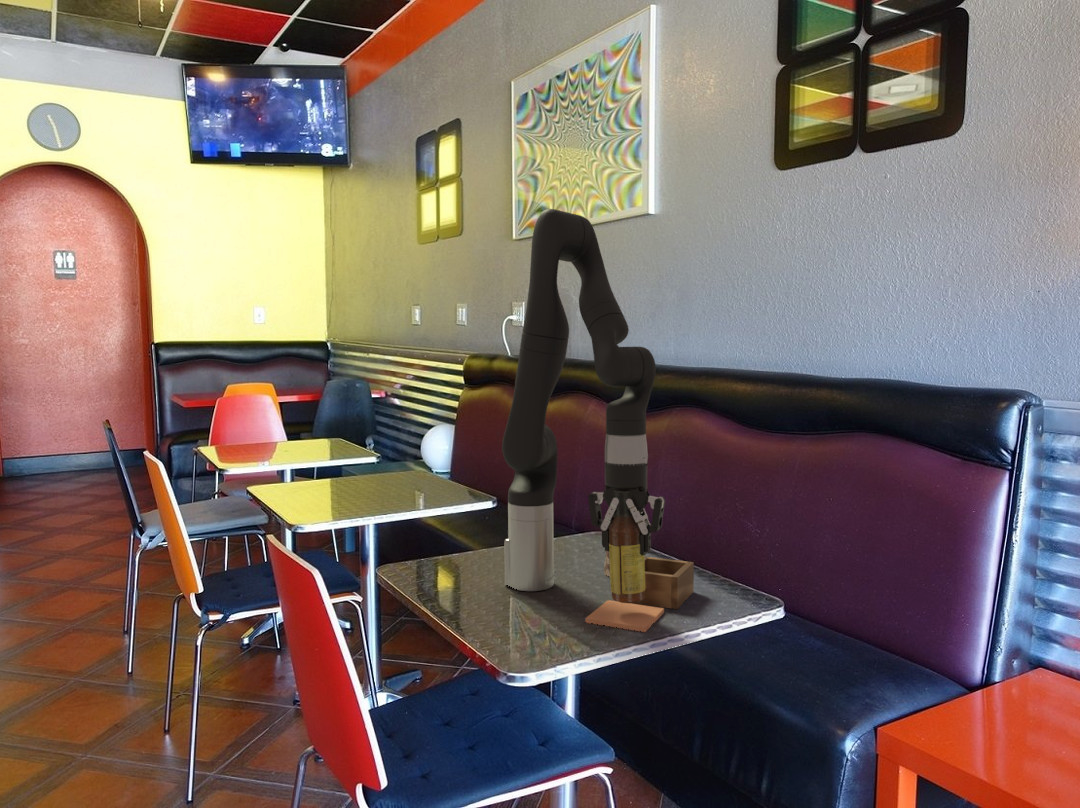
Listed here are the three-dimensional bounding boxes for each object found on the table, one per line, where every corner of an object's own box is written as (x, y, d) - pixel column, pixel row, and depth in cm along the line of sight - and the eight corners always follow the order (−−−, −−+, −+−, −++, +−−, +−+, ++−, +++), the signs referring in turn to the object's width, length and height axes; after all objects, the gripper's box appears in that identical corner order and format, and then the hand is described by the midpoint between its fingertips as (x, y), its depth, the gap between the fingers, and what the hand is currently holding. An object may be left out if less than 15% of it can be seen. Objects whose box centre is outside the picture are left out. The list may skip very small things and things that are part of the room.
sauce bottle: (650, 597, 142) (651, 488, 140) (637, 607, 136) (637, 494, 135) (617, 591, 145) (617, 485, 143) (603, 601, 139) (602, 491, 138)
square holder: (624, 601, 149) (624, 570, 149) (643, 585, 160) (643, 556, 159) (677, 609, 145) (677, 577, 144) (693, 591, 155) (693, 562, 155)
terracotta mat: (585, 622, 138) (585, 618, 138) (607, 604, 148) (607, 600, 148) (645, 632, 133) (645, 627, 133) (664, 612, 143) (664, 608, 143)
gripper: (580, 459, 138) (581, 553, 140) (658, 464, 132) (658, 561, 133) (596, 454, 145) (596, 543, 146) (671, 458, 139) (671, 551, 140)
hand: (626, 551), depth 140 cm, fingers closed on sauce bottle, 6 cm apart
